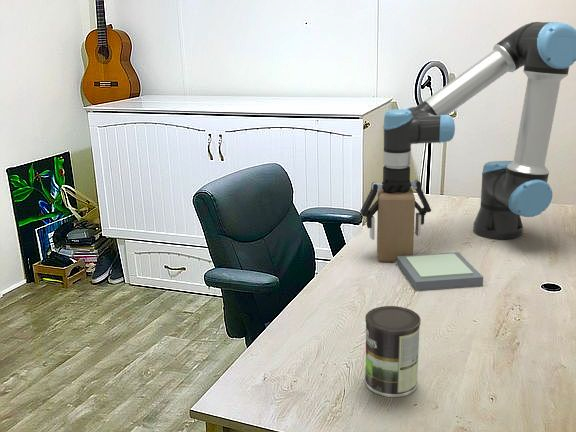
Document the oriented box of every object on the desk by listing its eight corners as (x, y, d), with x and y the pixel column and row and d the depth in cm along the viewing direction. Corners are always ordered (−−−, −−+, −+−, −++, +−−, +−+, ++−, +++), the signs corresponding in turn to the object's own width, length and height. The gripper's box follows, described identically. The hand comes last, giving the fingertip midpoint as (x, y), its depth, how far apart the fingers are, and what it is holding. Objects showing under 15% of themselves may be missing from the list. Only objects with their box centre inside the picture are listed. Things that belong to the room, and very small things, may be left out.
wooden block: (410, 250, 190) (412, 186, 183) (413, 263, 180) (415, 196, 174) (376, 250, 191) (377, 186, 184) (378, 263, 181) (379, 196, 175)
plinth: (457, 260, 181) (458, 250, 180) (482, 285, 164) (483, 275, 163) (396, 264, 180) (396, 254, 179) (415, 290, 163) (415, 280, 162)
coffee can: (370, 399, 118) (371, 332, 114) (360, 370, 128) (360, 307, 123) (424, 395, 119) (427, 328, 114) (410, 366, 128) (412, 303, 124)
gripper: (435, 160, 182) (432, 229, 188) (350, 164, 179) (350, 235, 186) (444, 166, 174) (440, 238, 181) (355, 171, 172) (355, 243, 179)
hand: (395, 236), depth 183 cm, fingers open, 13 cm apart
